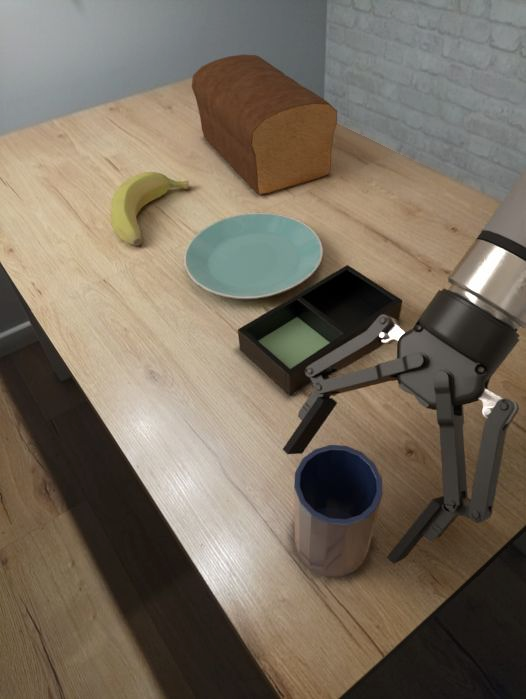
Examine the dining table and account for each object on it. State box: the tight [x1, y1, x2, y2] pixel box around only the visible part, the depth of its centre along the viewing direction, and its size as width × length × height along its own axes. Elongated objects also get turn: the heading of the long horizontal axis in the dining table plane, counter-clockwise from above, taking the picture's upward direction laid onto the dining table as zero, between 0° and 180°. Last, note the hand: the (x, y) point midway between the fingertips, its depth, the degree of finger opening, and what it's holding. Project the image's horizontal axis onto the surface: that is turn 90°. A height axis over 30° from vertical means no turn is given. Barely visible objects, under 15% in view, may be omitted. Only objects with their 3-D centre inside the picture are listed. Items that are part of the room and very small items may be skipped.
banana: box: [110, 171, 190, 247], centre depth 95 cm, size 14×6×20 cm
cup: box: [293, 444, 384, 578], centre depth 48 cm, size 7×7×12 cm
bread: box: [191, 54, 338, 195], centre depth 103 cm, size 18×30×16 cm, turn 26°
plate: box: [183, 212, 324, 300], centre depth 83 cm, size 22×22×3 cm
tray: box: [237, 264, 404, 397], centre depth 71 cm, size 11×20×4 cm, turn 129°
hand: (339, 500), depth 48 cm, fingers open, 13 cm apart
